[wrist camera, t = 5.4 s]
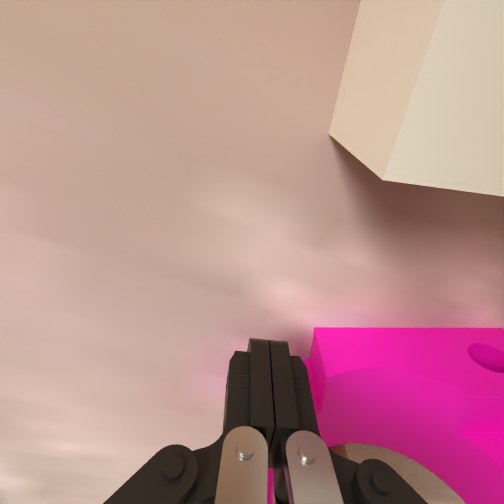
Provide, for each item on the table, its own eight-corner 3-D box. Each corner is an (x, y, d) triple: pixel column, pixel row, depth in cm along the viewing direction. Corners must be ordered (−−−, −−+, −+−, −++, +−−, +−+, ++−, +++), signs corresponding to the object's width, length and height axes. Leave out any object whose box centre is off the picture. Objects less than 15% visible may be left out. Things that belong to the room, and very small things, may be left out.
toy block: (499, 325, 18) (641, 472, 12) (462, 397, 21) (556, 545, 15) (228, 324, 18) (217, 474, 11) (231, 397, 21) (223, 547, 14)
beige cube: (377, -74, 10) (523, -231, 5) (560, -38, 10) (882, -144, 5) (328, 133, 13) (382, 180, 8) (472, 154, 13) (617, 212, 8)
